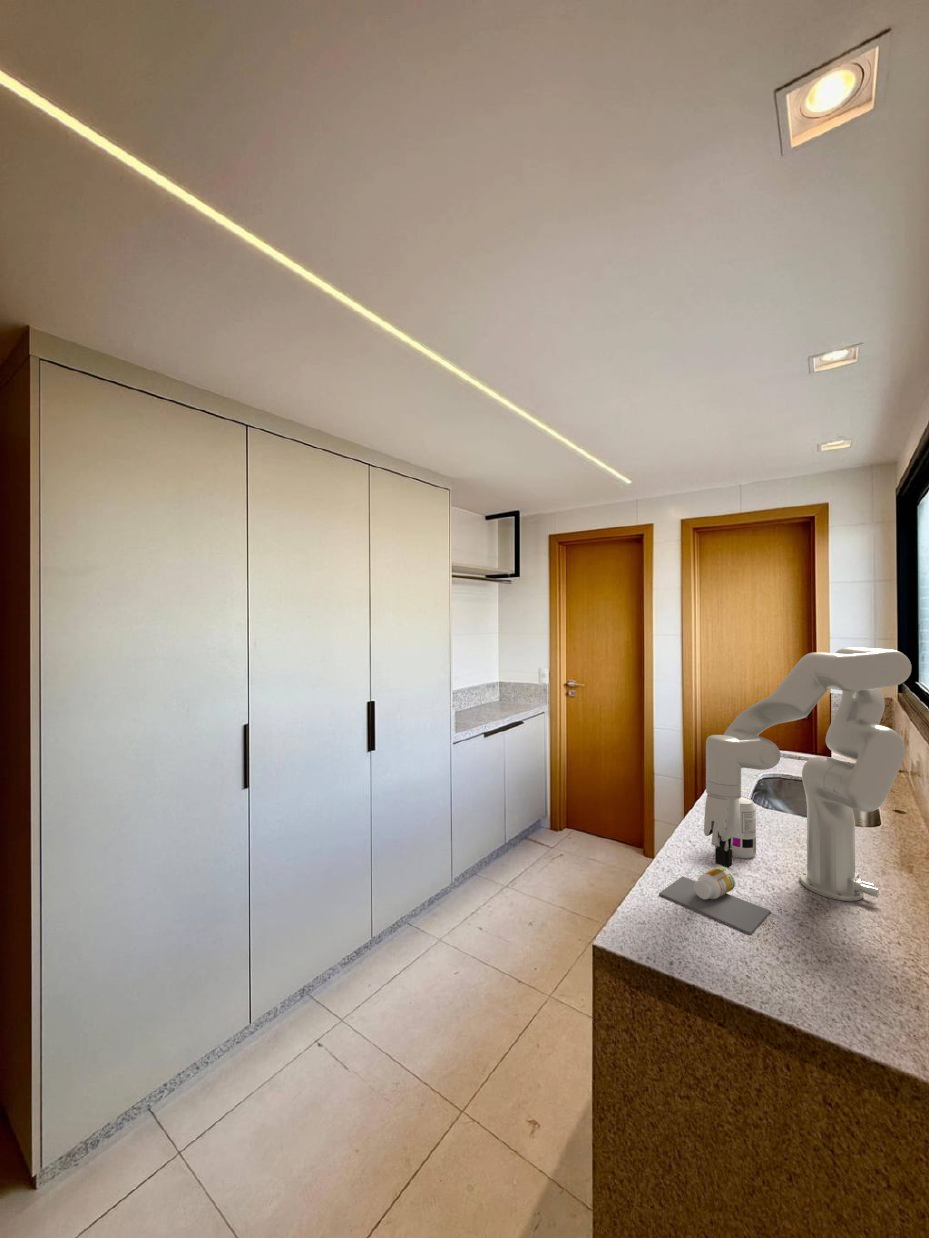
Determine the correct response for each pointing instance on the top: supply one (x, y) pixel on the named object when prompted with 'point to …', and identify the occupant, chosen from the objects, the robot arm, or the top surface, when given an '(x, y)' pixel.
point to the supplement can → (745, 830)
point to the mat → (717, 906)
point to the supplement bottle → (714, 883)
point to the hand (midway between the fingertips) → (723, 864)
